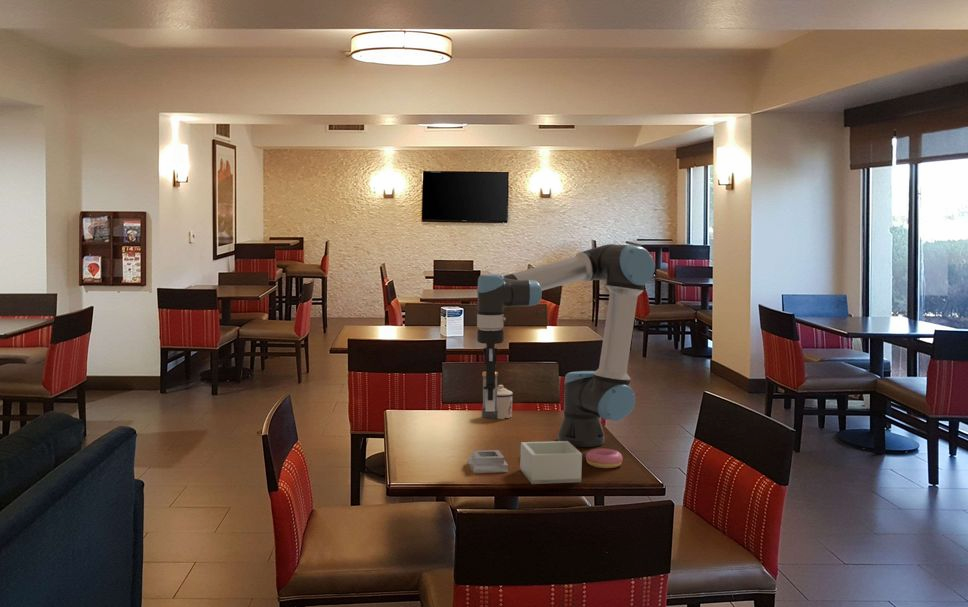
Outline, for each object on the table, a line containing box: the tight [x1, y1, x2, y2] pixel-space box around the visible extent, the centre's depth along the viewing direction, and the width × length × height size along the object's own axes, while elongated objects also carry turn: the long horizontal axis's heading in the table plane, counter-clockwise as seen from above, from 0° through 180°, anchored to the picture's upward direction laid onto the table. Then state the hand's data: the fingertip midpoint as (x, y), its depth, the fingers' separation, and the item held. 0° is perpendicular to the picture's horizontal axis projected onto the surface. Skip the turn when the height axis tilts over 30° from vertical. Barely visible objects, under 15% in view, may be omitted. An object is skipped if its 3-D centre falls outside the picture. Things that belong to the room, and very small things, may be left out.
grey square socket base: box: [467, 449, 509, 474], centre depth 260 cm, size 10×10×4 cm
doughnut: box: [585, 447, 623, 469], centre depth 266 cm, size 11×11×4 cm
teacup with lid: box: [497, 384, 514, 420], centre depth 326 cm, size 12×9×12 cm
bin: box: [519, 440, 583, 485], centre depth 253 cm, size 14×14×8 cm
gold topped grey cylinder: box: [481, 370, 499, 420], centre depth 258 cm, size 5×5×13 cm
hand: (489, 408), depth 259 cm, fingers closed on gold topped grey cylinder, 5 cm apart
